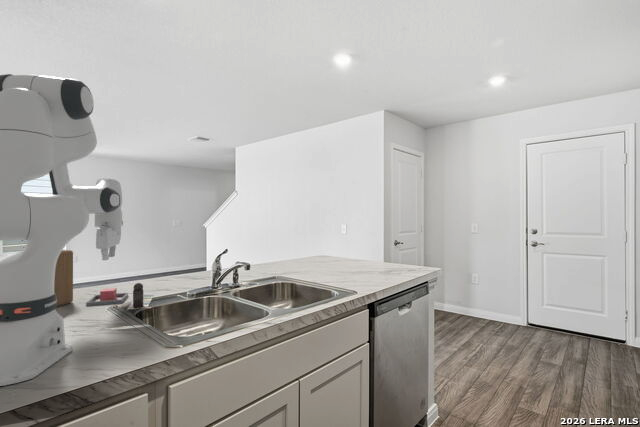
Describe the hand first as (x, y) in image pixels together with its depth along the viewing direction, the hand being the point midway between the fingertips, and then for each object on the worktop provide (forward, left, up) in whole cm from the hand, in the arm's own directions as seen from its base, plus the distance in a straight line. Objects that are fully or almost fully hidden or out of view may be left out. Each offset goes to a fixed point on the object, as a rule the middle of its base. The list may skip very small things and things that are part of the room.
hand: (108, 258), depth 125 cm
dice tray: (0, 0, -17) cm, 17 cm away
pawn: (-13, -12, -16) cm, 24 cm away
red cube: (0, 0, -16) cm, 16 cm away
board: (-5, -12, -17) cm, 21 cm away
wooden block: (+3, +19, -17) cm, 26 cm away
